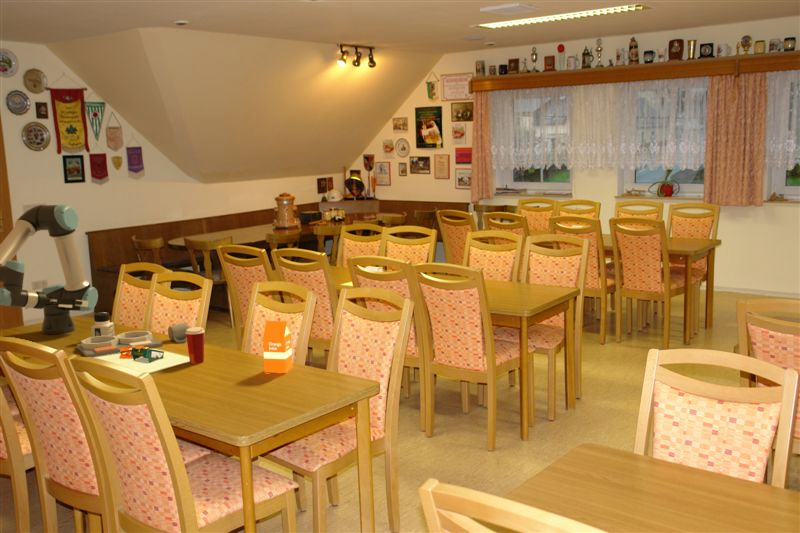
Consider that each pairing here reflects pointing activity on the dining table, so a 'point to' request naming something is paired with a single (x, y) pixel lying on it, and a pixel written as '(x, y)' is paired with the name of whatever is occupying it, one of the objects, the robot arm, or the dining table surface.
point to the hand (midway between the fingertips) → (79, 304)
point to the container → (102, 325)
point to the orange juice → (277, 347)
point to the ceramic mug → (178, 333)
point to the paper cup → (195, 344)
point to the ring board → (116, 343)
